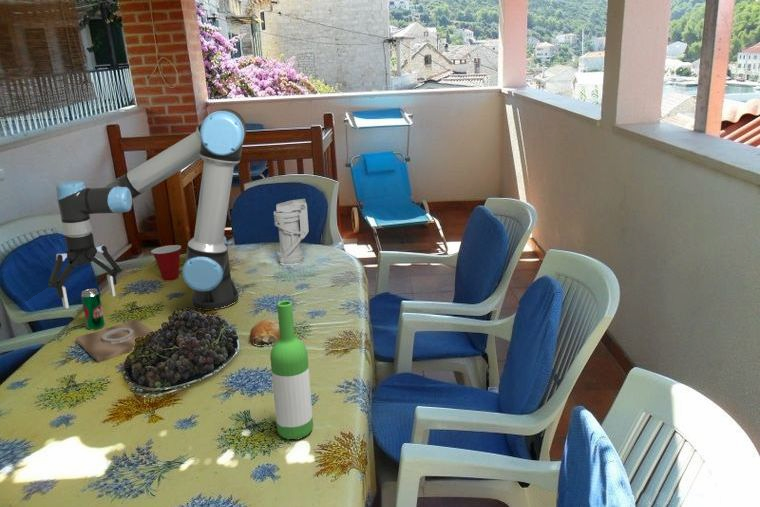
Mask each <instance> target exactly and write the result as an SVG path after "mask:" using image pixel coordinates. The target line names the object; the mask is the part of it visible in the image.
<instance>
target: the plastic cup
mask: <svg viewBox="0 0 760 507" xmlns="http://www.w3.org/2000/svg"><path fill="white" fill-rule="evenodd" d="M181 249H182V245H179V244H174V245H173V244H172V245H163V246H160V247H156V248H154V249H152V250H151V251H150V252H151V254H152V255H153V257H154V259H155V261H156V264H157V267H158V270H159V273H160V275H161V278H162V281H166V280H169V281H174V280H177V279H178V278H179V276H180V255H181Z"/></svg>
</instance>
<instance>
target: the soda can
mask: <svg viewBox="0 0 760 507" xmlns="http://www.w3.org/2000/svg"><path fill="white" fill-rule="evenodd" d="M80 297H81V303H82V308H83V313H84V319H85V323H86V328H87V329H88V330H90V329H97V330H99V329H98V328H100V329H102V328H103V327H104V326H105V324H106V323H105V316H104V312H103V305H102V301H101V296H100V292H99V291H98V289H97V288H88V289H85V290H82V291H81V295H80ZM101 327H102V328H101Z"/></svg>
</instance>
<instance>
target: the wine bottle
mask: <svg viewBox="0 0 760 507" xmlns="http://www.w3.org/2000/svg"><path fill="white" fill-rule="evenodd" d="M276 305H277V316H278V318H277V319H278V322H279V331H280V339H279V340H278V341H277V342H276V343H275V344H274V345H273V346H272V348H271V349H270V350H271V351H270V355H269V356H270V367H271V368H270V370H271V378H272V380H271V381H272V389H273V390H272V391H273V401H274V411H275V421H276V430H277V431H276V432H277V433H278V435H279V436H280V437H281V436H282V438H283V437H284V438H283V439H285V438H286V439H285V440H289V439H297V440H299V439H298V438H301V437H304V436H306V435H307V436H308V435H309V434H310V433H311V432H312V431H313V427H314V420H313V406H312V394H311V382H310V381H311V380H310V367H309V366H310V365H309V354H308V349H307V347H306V345H305V344H304V343H303V342H302V341H301V339H299V338H297V337H296V335H295V324H294V314H293V311H294V310H293V303H292V302H291V300H280V301H278V303H277V304H276ZM307 436H306V437H307ZM304 438H305V437H304ZM301 439H302V438H301Z"/></svg>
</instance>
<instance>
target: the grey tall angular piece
mask: <svg viewBox="0 0 760 507" xmlns="http://www.w3.org/2000/svg"><path fill="white" fill-rule="evenodd" d="M275 207H276V210H274V211H273V221H274V226H275V227H277V229H278V238H279V251H277V253H276V255H277V261H278V263H279V262H280V263H284V264H295V263H300V262H302V261H303V262H304V259H305V258H304V257H305V255H304V253H303V251H302V250H301V241H302V240H304V239H305V237H307V235H308V233H309V228H310V227H309V218H308V204H307V201H306V198H300V199H293V200H292V199H291V200H287V201H285V202H284V201H283V202H280V203H277V204H276V206H275Z"/></svg>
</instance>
